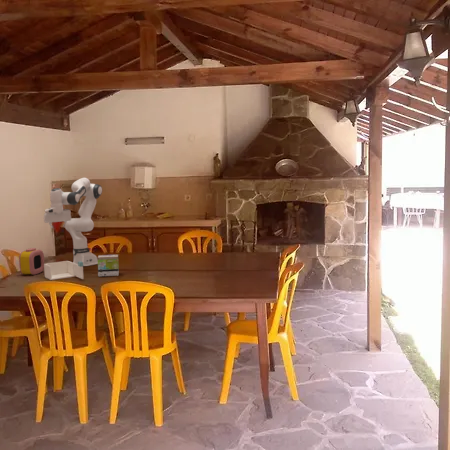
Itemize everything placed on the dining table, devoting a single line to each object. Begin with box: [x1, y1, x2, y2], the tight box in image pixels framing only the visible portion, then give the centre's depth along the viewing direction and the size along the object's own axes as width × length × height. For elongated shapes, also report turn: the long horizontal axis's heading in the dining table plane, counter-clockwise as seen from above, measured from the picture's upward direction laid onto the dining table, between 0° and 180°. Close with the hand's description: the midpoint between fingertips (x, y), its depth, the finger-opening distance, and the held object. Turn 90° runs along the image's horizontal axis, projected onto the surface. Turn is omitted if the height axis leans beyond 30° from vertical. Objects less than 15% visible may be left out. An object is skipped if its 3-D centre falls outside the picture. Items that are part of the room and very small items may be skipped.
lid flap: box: [73, 261, 84, 280], centre depth 360 cm, size 17×2×12 cm, turn 36°
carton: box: [43, 260, 75, 281], centre depth 368 cm, size 18×14×10 cm
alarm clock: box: [18, 247, 45, 276], centre depth 382 cm, size 18×11×19 cm, turn 168°
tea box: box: [97, 254, 120, 277], centre depth 370 cm, size 15×10×15 cm, turn 101°
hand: (58, 227), depth 380 cm, fingers open, 8 cm apart
